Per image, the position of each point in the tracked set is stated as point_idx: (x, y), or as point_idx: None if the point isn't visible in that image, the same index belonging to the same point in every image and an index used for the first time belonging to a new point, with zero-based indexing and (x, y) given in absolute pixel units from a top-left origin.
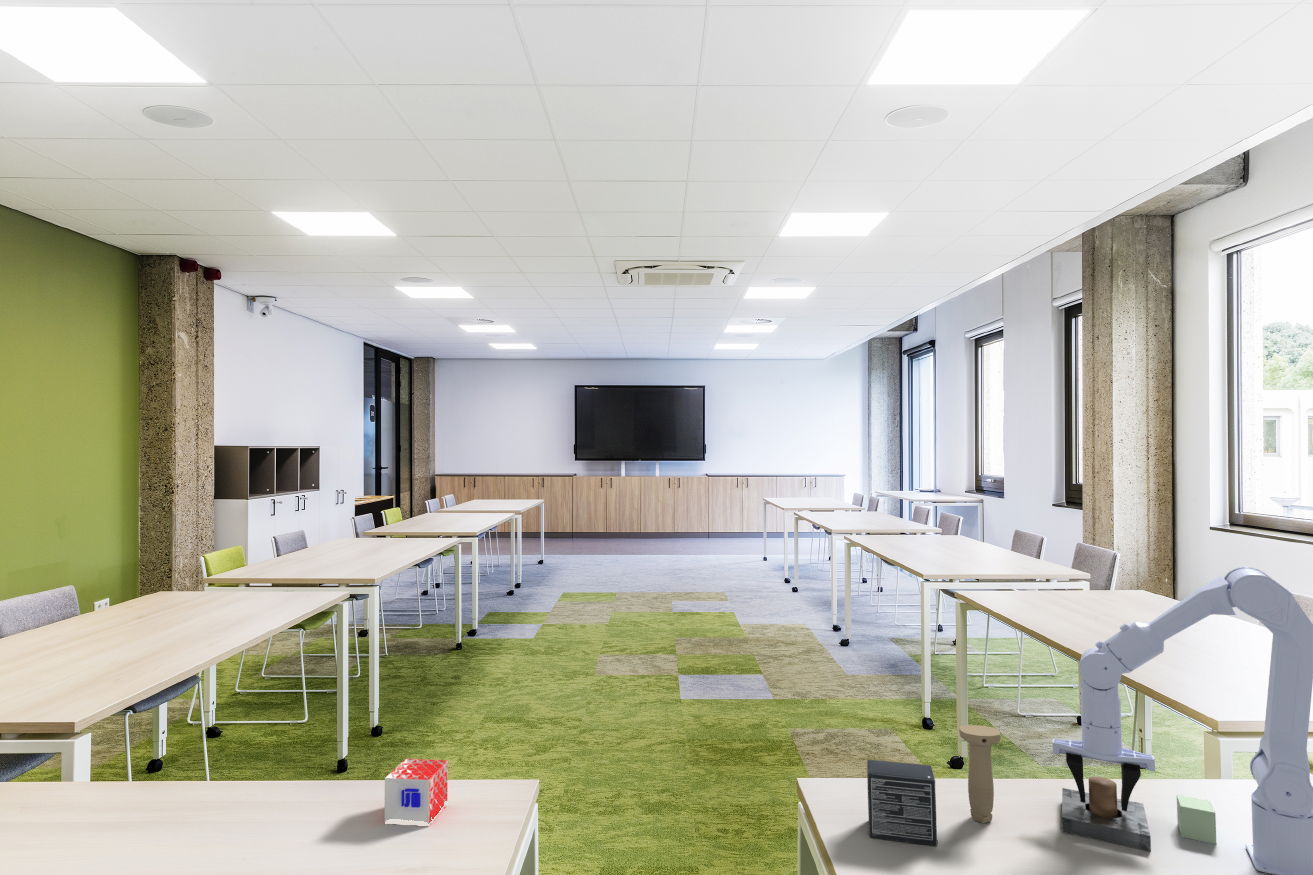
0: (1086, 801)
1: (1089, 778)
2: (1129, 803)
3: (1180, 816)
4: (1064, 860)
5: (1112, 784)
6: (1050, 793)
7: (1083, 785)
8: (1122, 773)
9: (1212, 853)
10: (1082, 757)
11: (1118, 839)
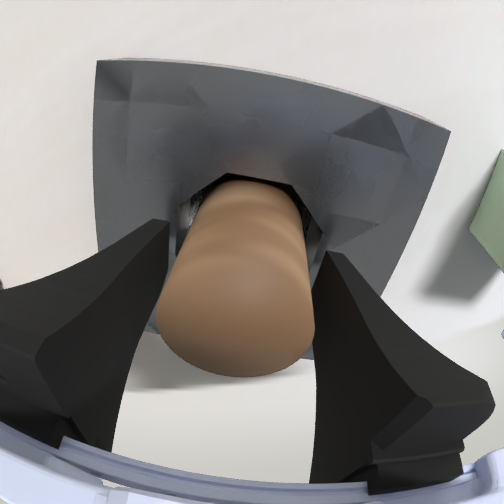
0: (186, 178)
1: (161, 304)
2: (392, 142)
3: (502, 256)
4: (140, 381)
5: (285, 347)
6: (93, 5)
7: (137, 342)
8: (331, 448)
9: (478, 293)
10: (75, 423)
11: None
